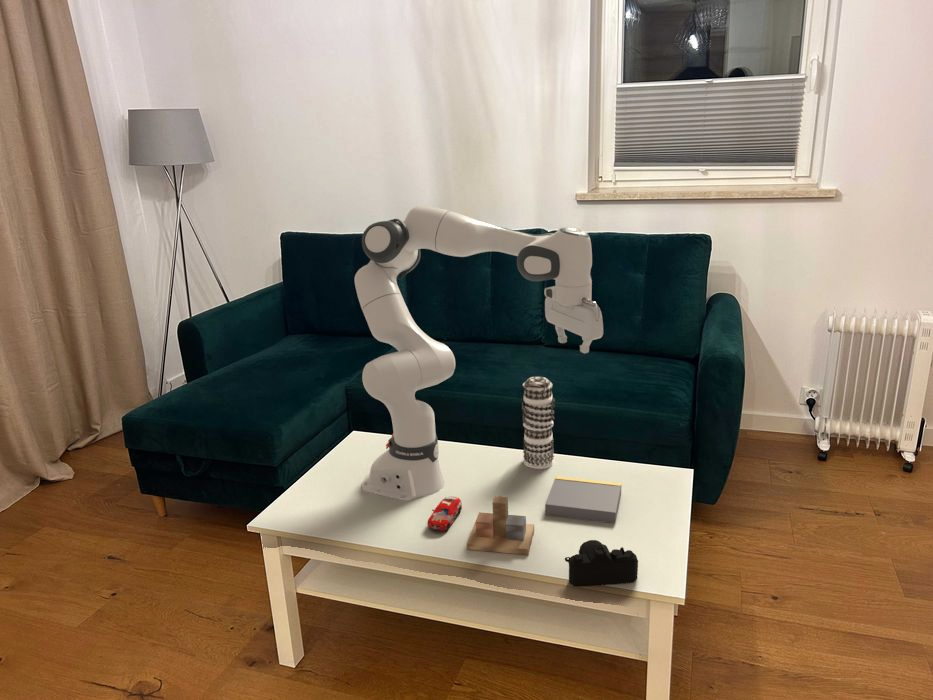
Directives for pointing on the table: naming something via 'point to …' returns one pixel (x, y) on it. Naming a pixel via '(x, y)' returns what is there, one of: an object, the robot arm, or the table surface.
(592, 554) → the film camera
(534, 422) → the decorative candle
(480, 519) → the terracotta crate
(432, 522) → the race car
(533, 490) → the table surface
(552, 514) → the plate
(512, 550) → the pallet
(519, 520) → the gray cube
